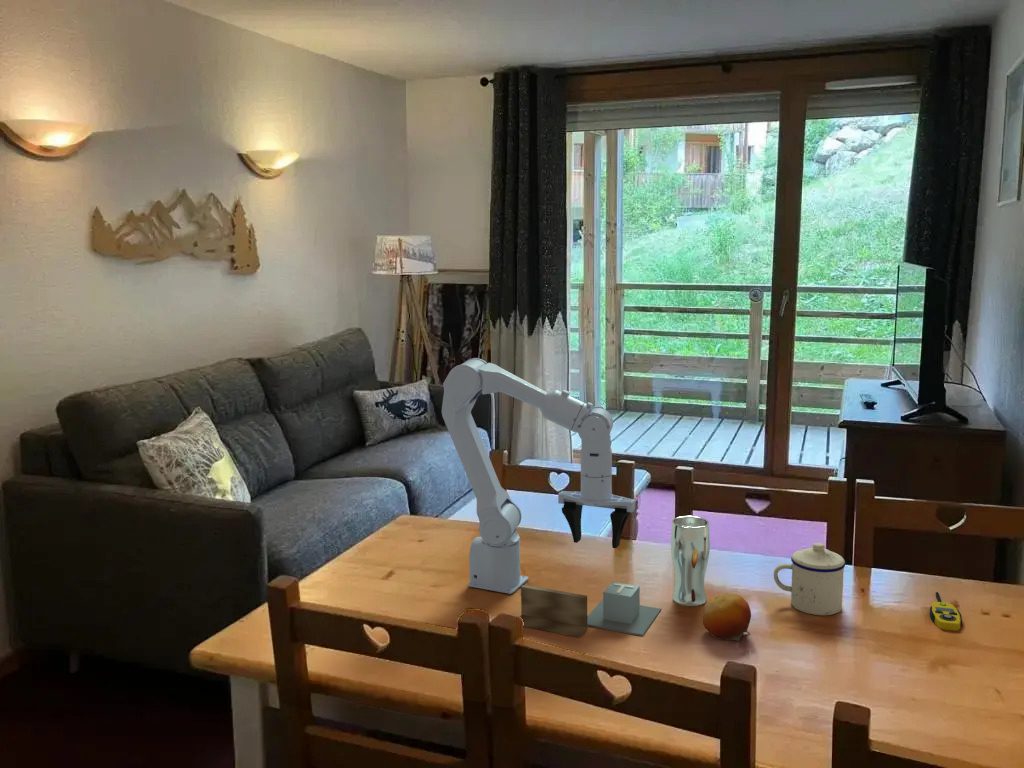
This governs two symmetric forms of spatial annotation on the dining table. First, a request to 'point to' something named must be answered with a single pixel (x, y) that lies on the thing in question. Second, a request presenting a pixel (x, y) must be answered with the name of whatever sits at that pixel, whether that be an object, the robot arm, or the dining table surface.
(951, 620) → the yellow walkie talkie
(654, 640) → the dining table surface
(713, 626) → the fruit
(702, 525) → the beer glass
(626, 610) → the letter block
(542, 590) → the screen
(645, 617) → the mat
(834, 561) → the teacup with lid
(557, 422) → the robot arm
